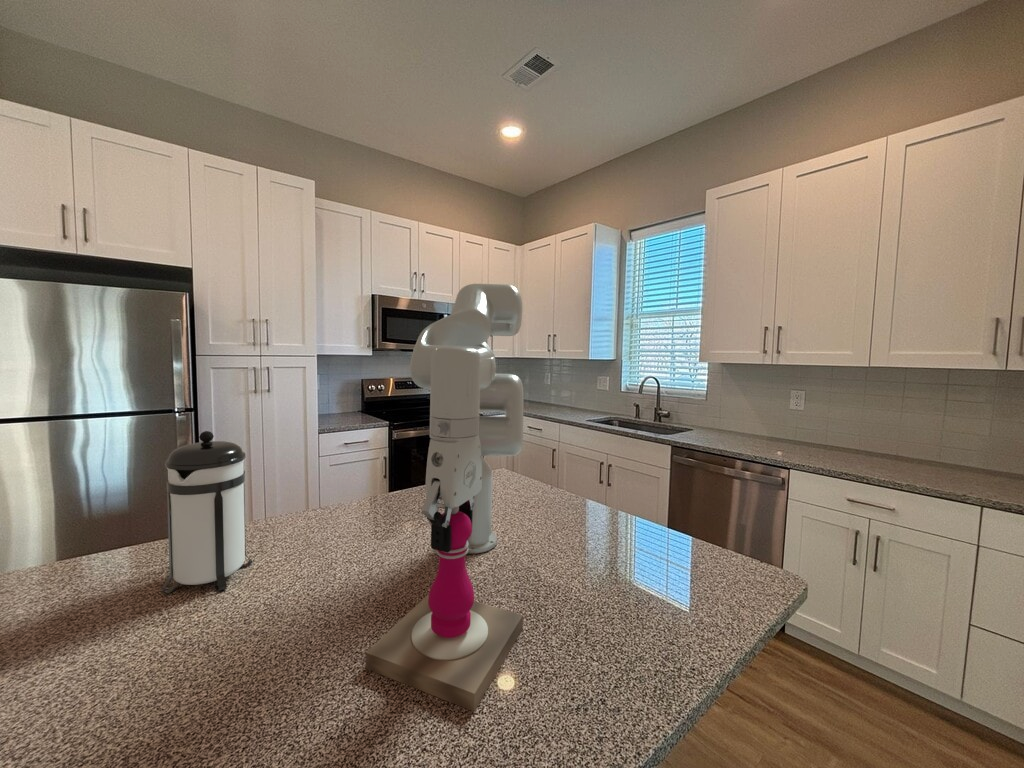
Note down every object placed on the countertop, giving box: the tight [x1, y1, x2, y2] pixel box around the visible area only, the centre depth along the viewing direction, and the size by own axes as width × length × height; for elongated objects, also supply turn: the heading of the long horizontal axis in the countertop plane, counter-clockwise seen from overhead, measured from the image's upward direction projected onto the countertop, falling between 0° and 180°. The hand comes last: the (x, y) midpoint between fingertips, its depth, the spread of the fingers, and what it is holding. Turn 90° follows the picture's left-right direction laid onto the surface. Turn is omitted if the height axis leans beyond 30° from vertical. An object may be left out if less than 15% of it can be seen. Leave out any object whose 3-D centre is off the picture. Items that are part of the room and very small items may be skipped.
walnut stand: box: [365, 593, 524, 712], centre depth 66 cm, size 18×18×3 cm
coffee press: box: [161, 430, 253, 595], centre depth 84 cm, size 17×16×30 cm
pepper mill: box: [428, 507, 475, 638], centre depth 65 cm, size 7×7×20 cm
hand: (452, 539), depth 65 cm, fingers closed on pepper mill, 5 cm apart
